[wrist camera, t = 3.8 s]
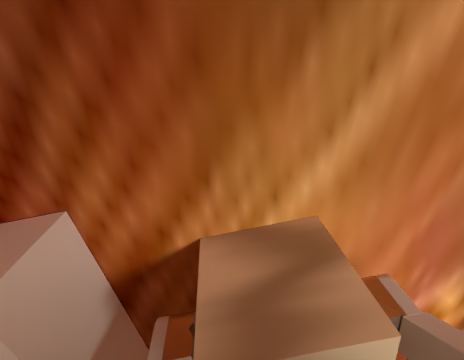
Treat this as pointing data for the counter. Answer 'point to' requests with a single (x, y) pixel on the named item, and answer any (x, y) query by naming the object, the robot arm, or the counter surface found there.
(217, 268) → the maple block
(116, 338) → the tray
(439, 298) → the counter surface
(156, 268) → the counter surface
